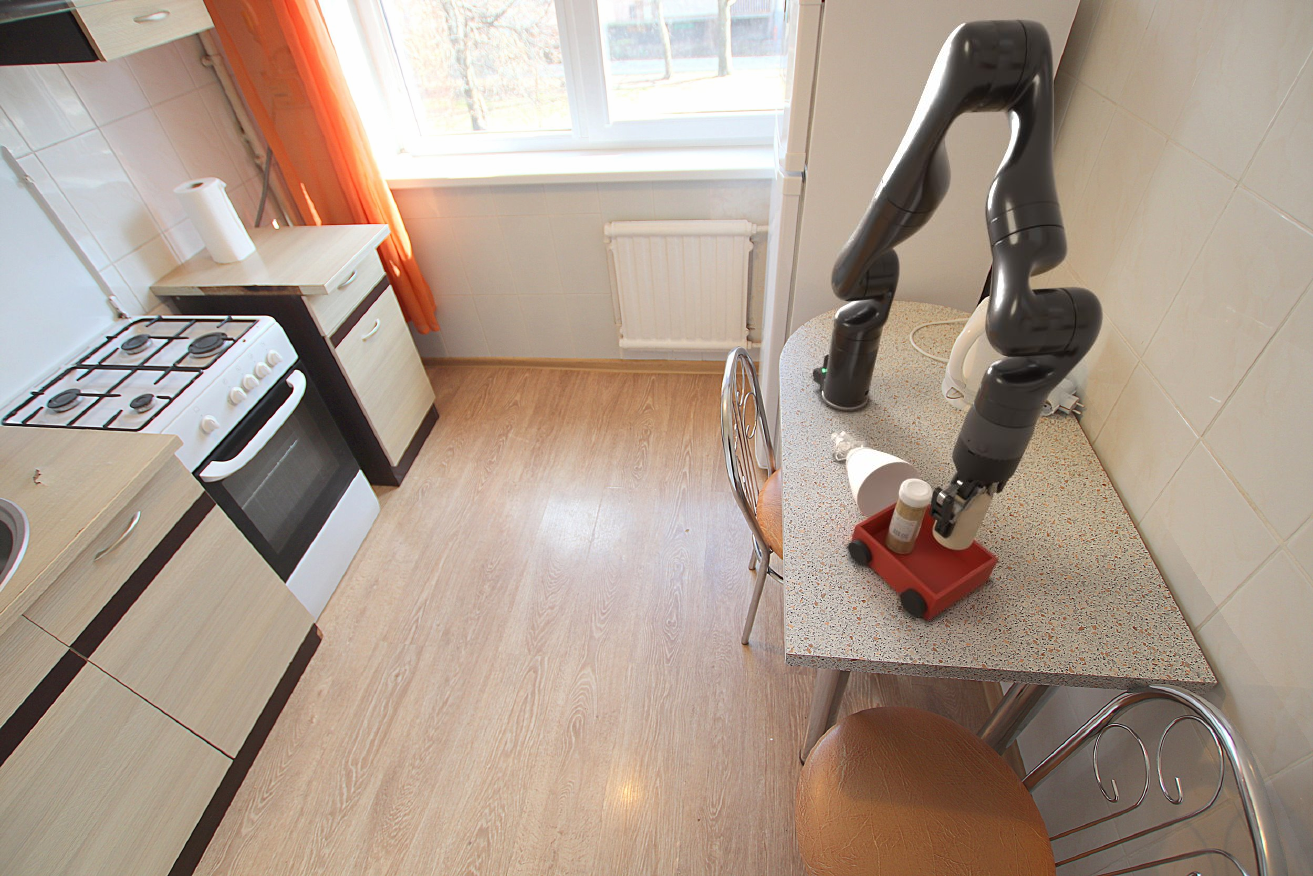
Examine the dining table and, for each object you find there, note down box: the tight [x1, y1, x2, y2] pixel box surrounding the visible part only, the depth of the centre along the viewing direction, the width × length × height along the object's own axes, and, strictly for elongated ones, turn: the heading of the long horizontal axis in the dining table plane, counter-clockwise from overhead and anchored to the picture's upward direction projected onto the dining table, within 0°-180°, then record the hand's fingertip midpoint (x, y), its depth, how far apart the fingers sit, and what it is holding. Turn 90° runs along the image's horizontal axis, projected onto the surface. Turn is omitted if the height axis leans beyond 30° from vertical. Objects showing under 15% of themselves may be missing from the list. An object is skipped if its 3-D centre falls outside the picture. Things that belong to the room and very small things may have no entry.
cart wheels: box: [847, 540, 927, 618], centre depth 97 cm, size 15×16×4 cm
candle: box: [933, 490, 992, 550], centre depth 86 cm, size 6×6×10 cm
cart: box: [850, 502, 1000, 622], centre depth 97 cm, size 16×13×6 cm
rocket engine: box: [830, 430, 922, 519], centre depth 110 cm, size 12×12×18 cm
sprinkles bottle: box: [885, 479, 934, 554], centre depth 96 cm, size 5×5×14 cm
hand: (956, 524), depth 87 cm, fingers closed on candle, 5 cm apart
